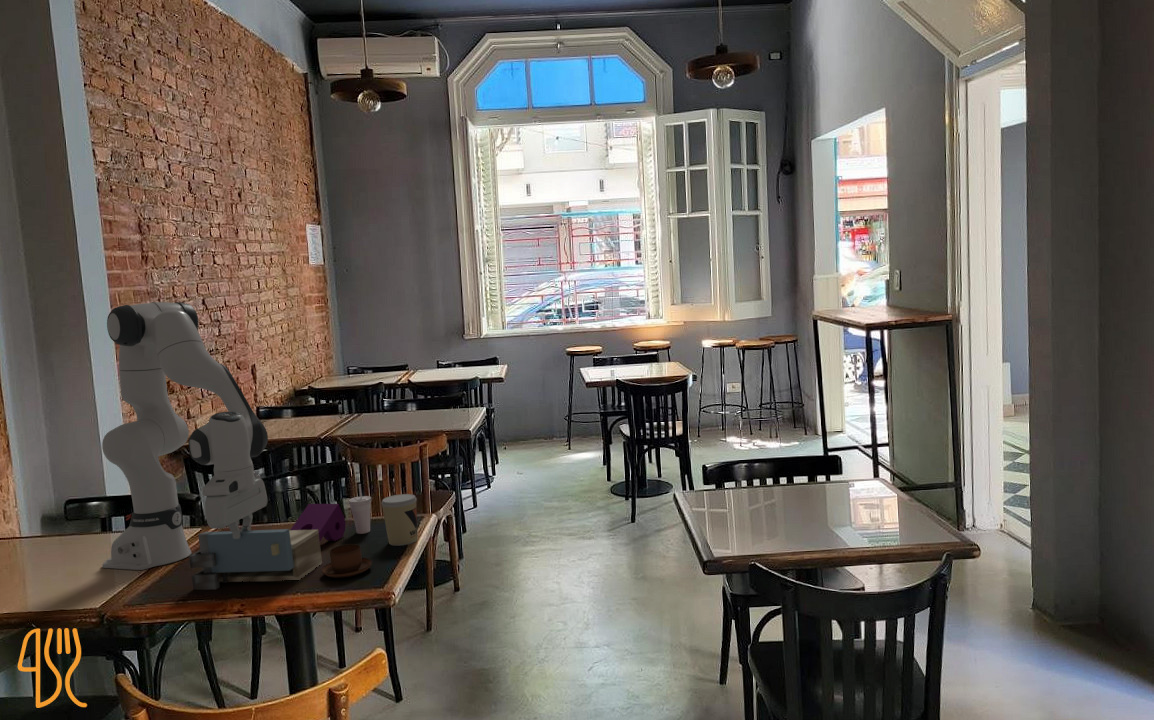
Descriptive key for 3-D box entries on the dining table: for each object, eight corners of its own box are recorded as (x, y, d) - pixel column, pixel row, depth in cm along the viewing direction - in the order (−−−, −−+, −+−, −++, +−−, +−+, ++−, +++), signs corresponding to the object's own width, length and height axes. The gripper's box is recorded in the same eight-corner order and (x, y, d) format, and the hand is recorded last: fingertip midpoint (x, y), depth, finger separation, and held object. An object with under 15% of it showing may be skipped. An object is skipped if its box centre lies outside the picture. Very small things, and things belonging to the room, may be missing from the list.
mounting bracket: (318, 574, 229) (348, 526, 245) (306, 551, 225) (338, 503, 240) (287, 573, 232) (319, 526, 247) (275, 550, 228) (308, 503, 243)
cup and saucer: (312, 580, 207) (309, 555, 206) (342, 563, 218) (340, 540, 217) (353, 583, 202) (350, 557, 202) (382, 566, 213) (379, 542, 213)
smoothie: (363, 536, 241) (357, 487, 239) (347, 534, 244) (341, 486, 243) (379, 529, 246) (374, 481, 245) (363, 527, 249) (358, 480, 248)
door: (198, 575, 207) (193, 537, 206) (208, 569, 211) (203, 531, 210) (286, 572, 202) (281, 533, 201) (295, 566, 206) (290, 528, 205)
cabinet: (193, 589, 207) (188, 553, 206) (233, 565, 223) (229, 532, 222) (288, 588, 202) (283, 551, 201) (322, 563, 218) (318, 529, 218)
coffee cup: (416, 545, 228) (412, 501, 227) (382, 547, 228) (377, 504, 227) (423, 534, 237) (419, 492, 236) (390, 537, 237) (385, 495, 236)
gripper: (247, 470, 216) (254, 523, 217) (197, 490, 196) (205, 549, 197) (270, 468, 214) (276, 522, 216) (222, 489, 194) (229, 548, 196)
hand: (242, 535), depth 206 cm, fingers closed on door, 2 cm apart
